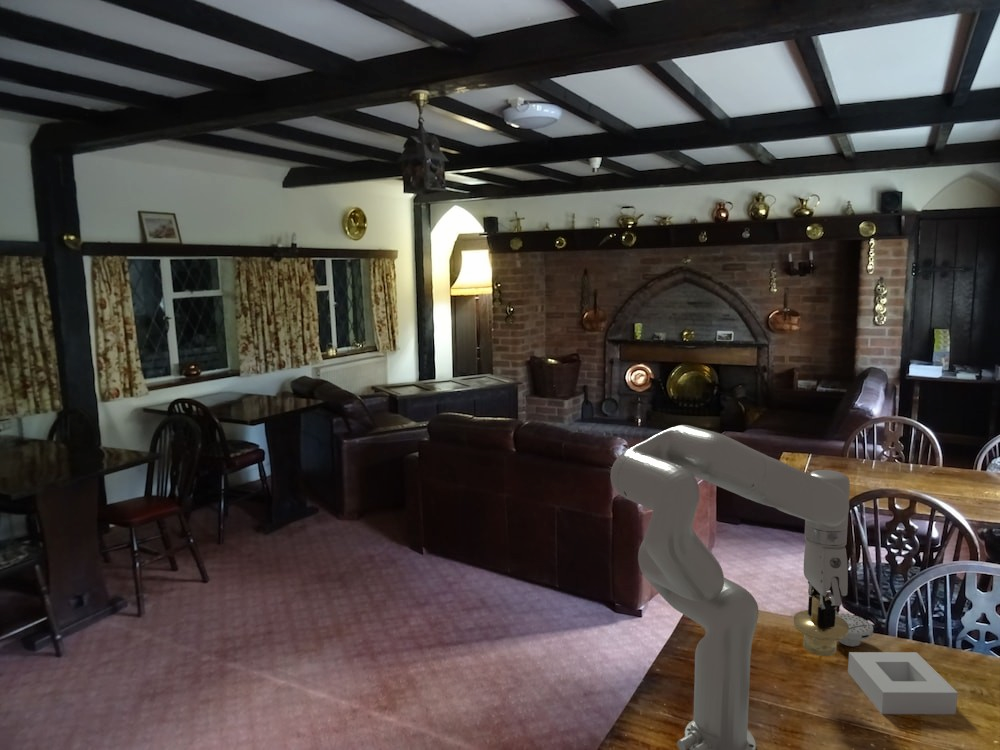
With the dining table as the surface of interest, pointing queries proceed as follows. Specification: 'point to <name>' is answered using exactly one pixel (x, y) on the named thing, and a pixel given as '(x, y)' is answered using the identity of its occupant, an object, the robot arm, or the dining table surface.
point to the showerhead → (855, 629)
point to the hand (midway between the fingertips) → (821, 619)
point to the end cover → (820, 630)
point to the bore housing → (902, 683)
